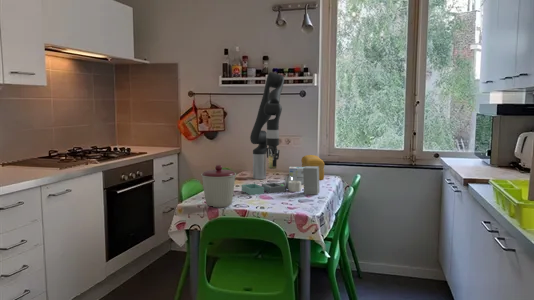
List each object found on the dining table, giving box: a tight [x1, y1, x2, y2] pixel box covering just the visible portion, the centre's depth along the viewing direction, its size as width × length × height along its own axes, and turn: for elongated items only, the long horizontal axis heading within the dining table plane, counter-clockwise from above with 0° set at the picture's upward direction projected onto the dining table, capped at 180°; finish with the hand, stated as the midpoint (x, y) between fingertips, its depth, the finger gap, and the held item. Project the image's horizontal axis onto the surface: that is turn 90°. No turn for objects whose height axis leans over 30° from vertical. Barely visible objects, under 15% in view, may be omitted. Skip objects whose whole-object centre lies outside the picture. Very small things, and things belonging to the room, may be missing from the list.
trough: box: [241, 183, 265, 196], centre depth 251 cm, size 13×9×4 cm, turn 25°
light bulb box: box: [288, 166, 304, 185], centre depth 278 cm, size 11×7×11 cm, turn 84°
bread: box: [301, 154, 325, 181], centre depth 302 cm, size 24×13×15 cm, turn 3°
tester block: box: [261, 182, 286, 194], centre depth 256 cm, size 12×10×4 cm
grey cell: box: [284, 175, 293, 190], centre depth 263 cm, size 5×5×8 cm
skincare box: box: [303, 166, 320, 195], centre depth 248 cm, size 8×7×16 cm
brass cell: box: [268, 156, 278, 170], centre depth 254 cm, size 5×5×8 cm
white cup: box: [287, 181, 302, 193], centre depth 256 cm, size 7×8×5 cm
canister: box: [200, 164, 237, 208], centre depth 219 cm, size 18×18×21 cm
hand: (272, 165), depth 254 cm, fingers closed on brass cell, 4 cm apart
